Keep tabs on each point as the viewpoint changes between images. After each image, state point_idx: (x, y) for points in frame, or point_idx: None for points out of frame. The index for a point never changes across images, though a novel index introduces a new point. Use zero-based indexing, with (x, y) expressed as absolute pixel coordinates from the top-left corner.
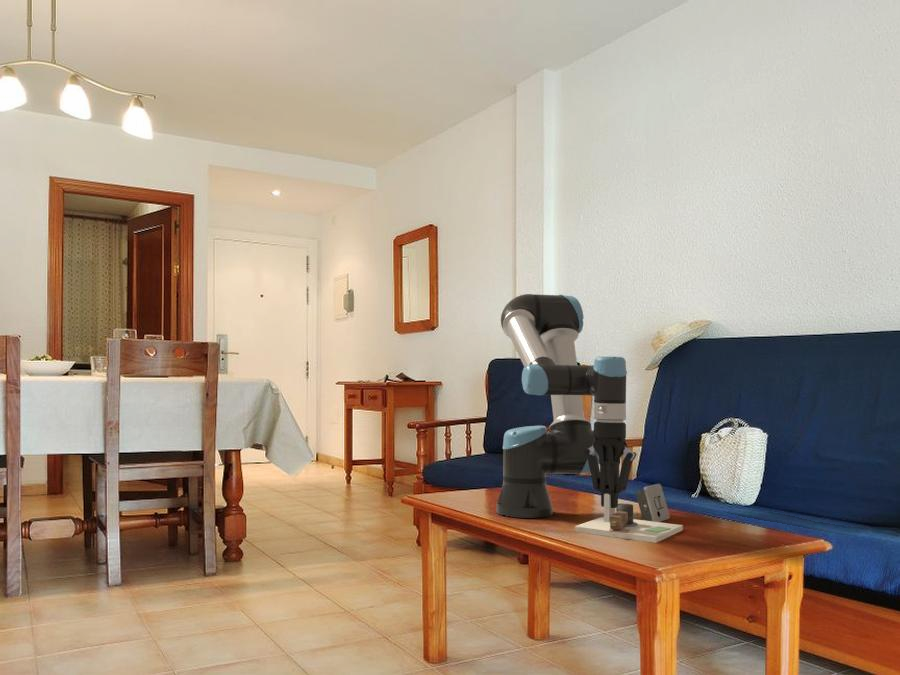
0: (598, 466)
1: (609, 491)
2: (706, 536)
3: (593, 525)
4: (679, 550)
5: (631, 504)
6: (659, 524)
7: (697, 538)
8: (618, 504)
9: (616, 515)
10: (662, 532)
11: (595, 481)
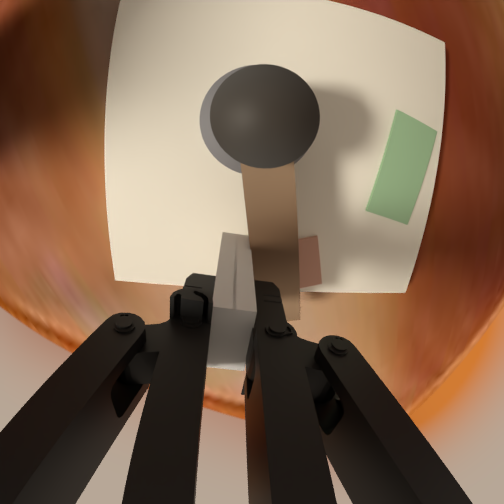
0: (42, 466)
1: (206, 306)
2: (493, 117)
3: (156, 227)
4: (441, 320)
5: (298, 77)
6: (382, 52)
7: (482, 156)
8: (225, 125)
9: None
10: (420, 206)
11: (121, 410)
